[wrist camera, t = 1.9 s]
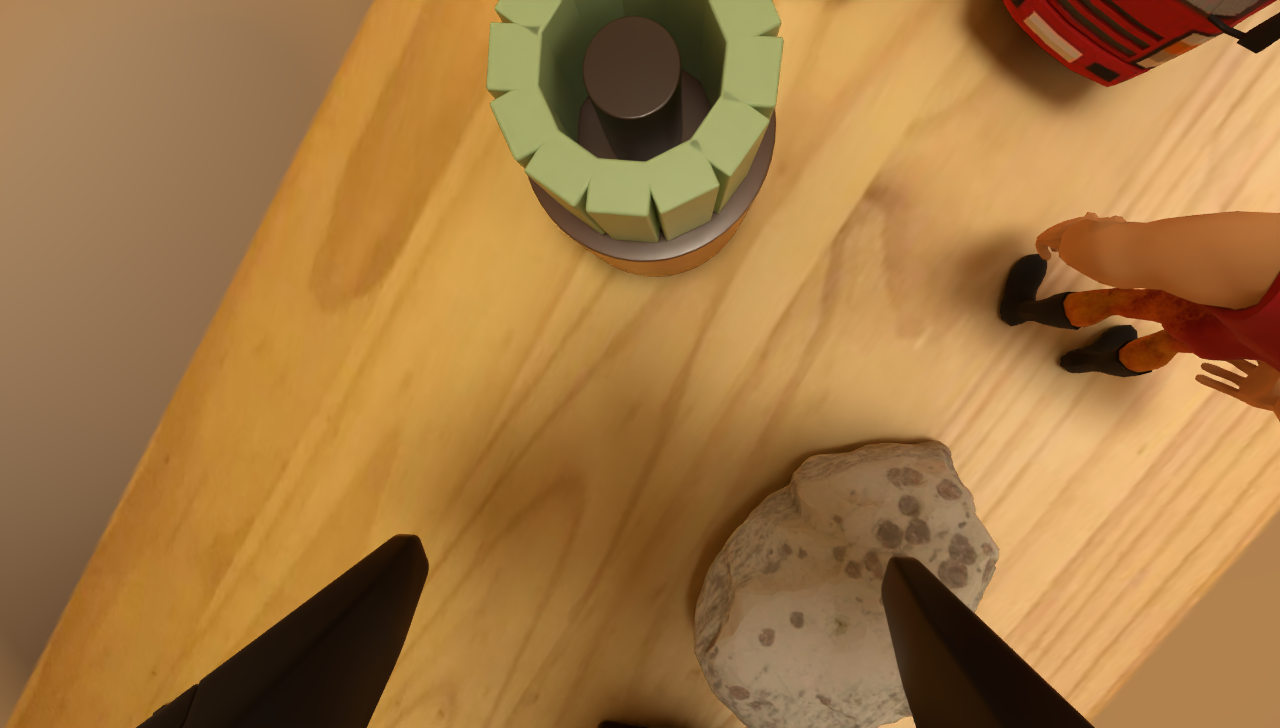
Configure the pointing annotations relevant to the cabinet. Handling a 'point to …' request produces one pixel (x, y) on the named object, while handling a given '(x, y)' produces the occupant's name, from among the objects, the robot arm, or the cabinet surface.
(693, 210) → the ring
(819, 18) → the cabinet surface
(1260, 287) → the action figure
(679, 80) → the stand
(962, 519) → the decorative stone
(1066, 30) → the toy truck
